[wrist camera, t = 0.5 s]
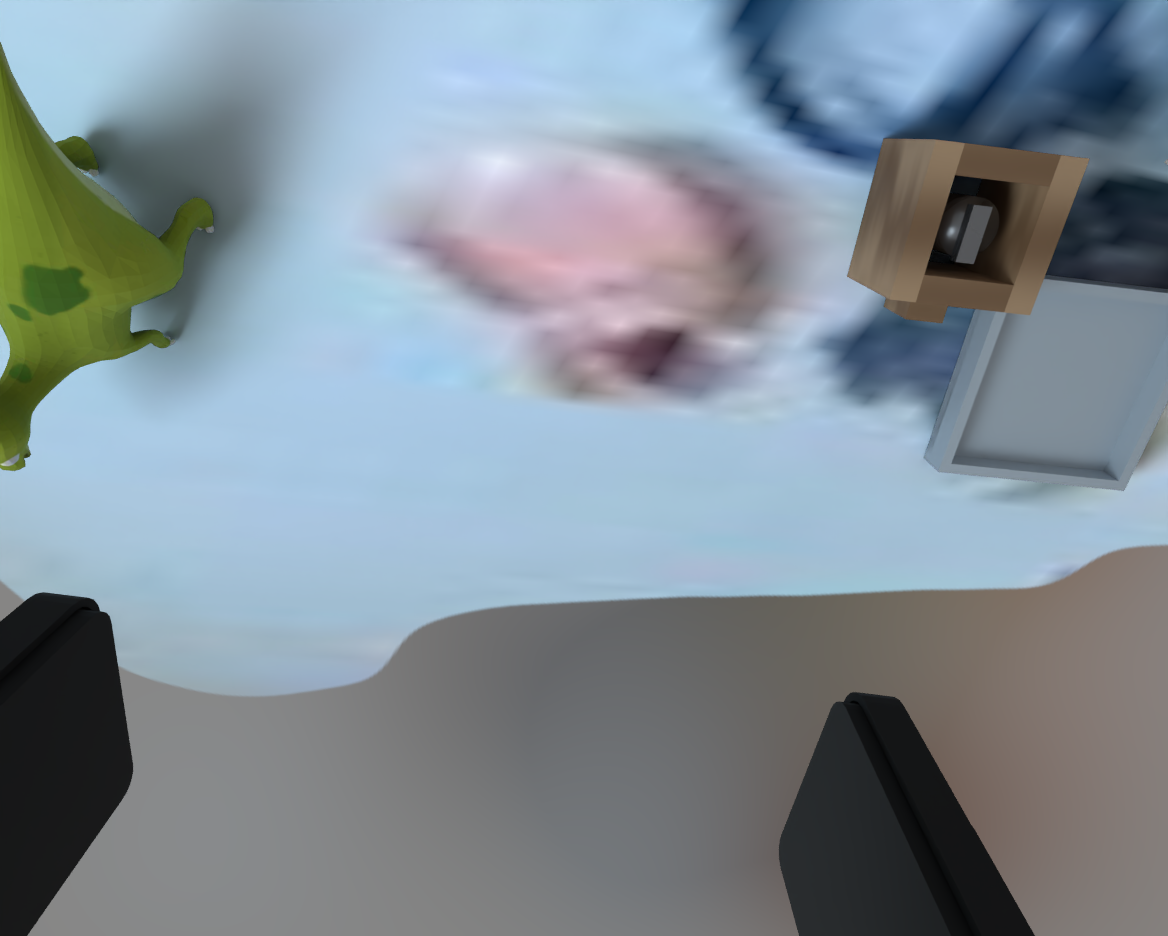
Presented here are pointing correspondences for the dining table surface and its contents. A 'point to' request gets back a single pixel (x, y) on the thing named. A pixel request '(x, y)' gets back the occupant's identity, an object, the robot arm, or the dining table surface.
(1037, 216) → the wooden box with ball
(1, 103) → the toy
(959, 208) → the grey rounded cylinder
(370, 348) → the dining table surface
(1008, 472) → the tray
